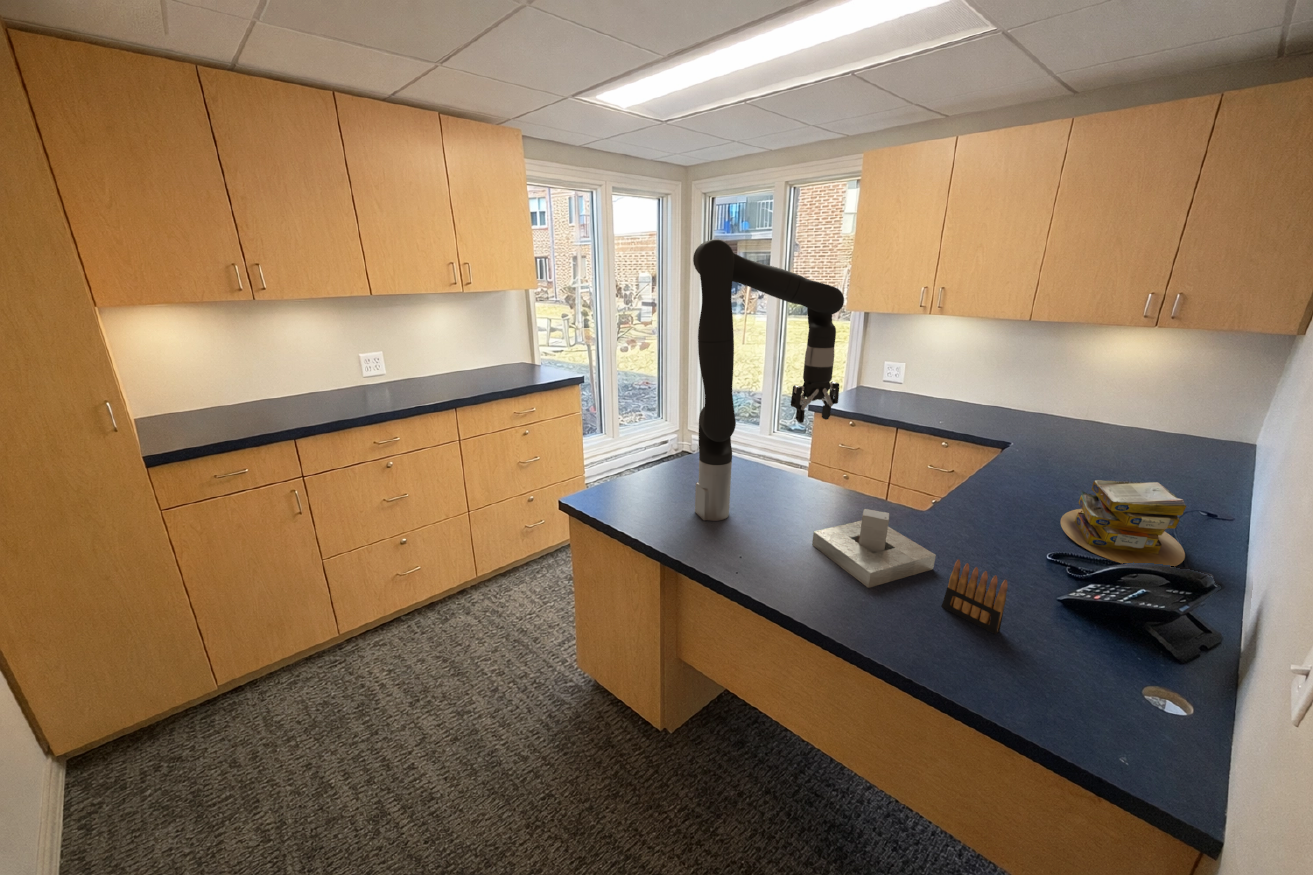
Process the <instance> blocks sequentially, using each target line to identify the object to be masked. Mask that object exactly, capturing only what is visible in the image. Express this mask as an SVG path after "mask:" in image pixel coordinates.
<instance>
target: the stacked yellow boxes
mask: <svg viewBox="0 0 1313 875" xmlns="http://www.w3.org/2000/svg"><path fill="white" fill-rule="evenodd" d="M1090 491H1093V492H1094V493H1095V495H1094V494H1091V493H1087V492H1084V491H1082V490H1081V491H1080V492H1081V493H1080V497H1079V500H1078V504H1079V506H1080V508H1077V509H1072V510H1070V511H1067V512H1066V513H1064V514H1063V515H1062V516H1061V518H1060V526H1061V528H1062V530H1063V532H1064V533H1065V534H1066V535H1067V536H1068V537H1069V538H1070V539H1071V540H1072V541H1073V542H1074V543H1076V544H1077V545H1079V546H1081V547H1082V548H1084V549H1086V550H1087V551H1089V552H1091V553H1092V554H1095V555H1096V556H1100V557H1103V558H1105V559H1107V560H1110V561H1113V562H1116V563H1118V564H1119V563H1120V564H1123V563H1133V562H1134V563H1154V564H1163V565H1170V566H1174V567H1177V566H1178V565H1181V564H1182V563H1183V561H1184V560H1185V558H1186V553H1185V552H1186V551H1185V550H1184V548H1183V546H1182V545H1181V544H1180V542H1179V541H1177V539H1176V538H1174V537H1173V535H1170V534H1169V533H1168V532H1166V530H1167V529H1176V528H1177V526H1178V524H1179V522H1180V521H1181V519H1180V518H1179V517H1180V516H1183V515H1184V513H1185V511H1186V508H1187V505H1186V504H1185V501H1184V499H1182V498H1178V497H1177V496H1176V494H1174V493H1173V492H1171V491H1170V490H1169V489H1167V487H1165V486H1163V485H1162V484H1160V482H1157V481H1156V482H1140V481H1137V482H1135V481H1134V482H1133V481H1117V480H1115V481H1114V480H1101V479H1096V480H1094V481H1093V482H1092V486H1091V490H1090ZM1178 516H1179V517H1178Z"/></svg>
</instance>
